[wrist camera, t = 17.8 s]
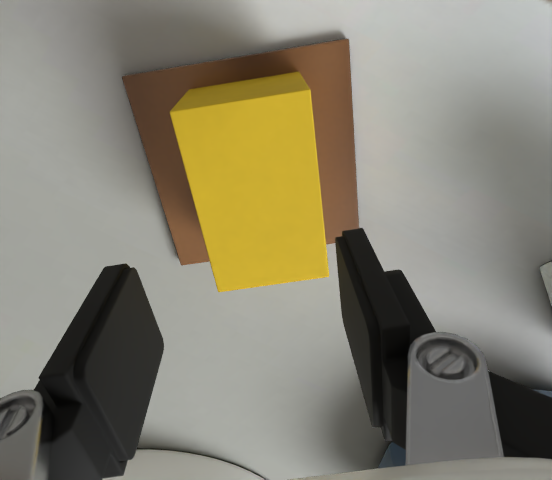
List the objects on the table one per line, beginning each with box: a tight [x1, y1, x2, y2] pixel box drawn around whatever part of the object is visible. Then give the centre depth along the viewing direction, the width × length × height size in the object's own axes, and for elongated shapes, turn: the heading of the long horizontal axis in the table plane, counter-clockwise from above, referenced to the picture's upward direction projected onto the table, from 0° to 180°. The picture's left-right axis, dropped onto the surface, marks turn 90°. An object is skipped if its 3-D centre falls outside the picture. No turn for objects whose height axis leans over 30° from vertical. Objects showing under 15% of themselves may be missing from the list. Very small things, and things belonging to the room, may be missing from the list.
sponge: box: [170, 72, 329, 292], centre depth 18 cm, size 5×8×4 cm, turn 8°
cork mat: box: [122, 38, 359, 265], centre depth 20 cm, size 10×10×1 cm
